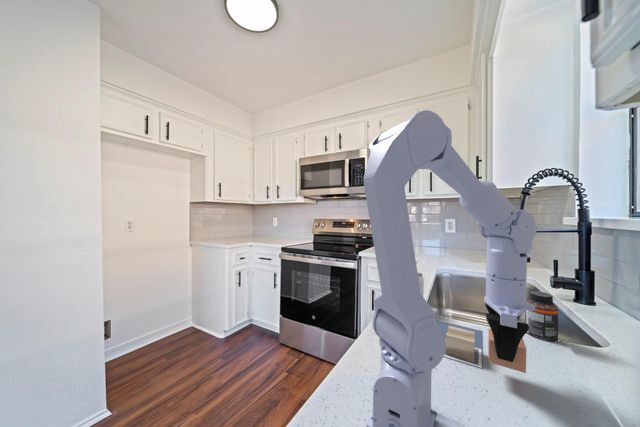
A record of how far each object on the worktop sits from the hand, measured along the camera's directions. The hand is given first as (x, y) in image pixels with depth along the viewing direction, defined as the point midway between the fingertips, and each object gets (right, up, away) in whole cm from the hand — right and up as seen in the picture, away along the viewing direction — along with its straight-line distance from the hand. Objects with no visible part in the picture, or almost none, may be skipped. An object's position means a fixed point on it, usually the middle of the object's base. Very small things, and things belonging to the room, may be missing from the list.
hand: (503, 351), depth 43 cm
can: (-5, -6, +31) cm, 32 cm away
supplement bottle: (+21, -6, +16) cm, 27 cm away
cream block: (-3, -5, +8) cm, 10 cm away
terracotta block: (0, -2, 0) cm, 2 cm away
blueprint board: (-3, -6, +14) cm, 15 cm away
